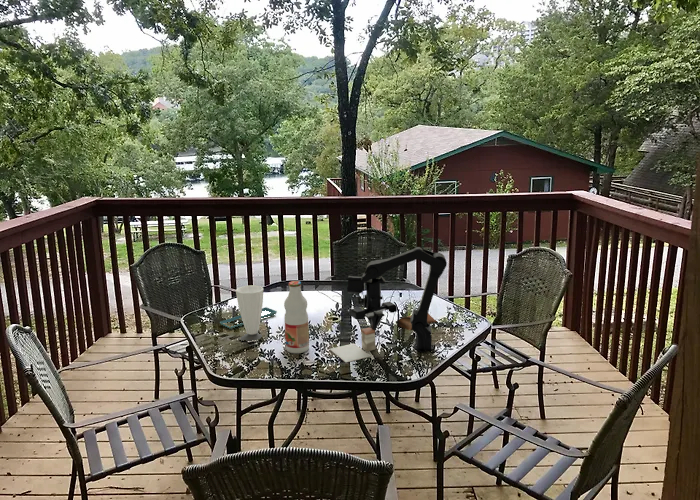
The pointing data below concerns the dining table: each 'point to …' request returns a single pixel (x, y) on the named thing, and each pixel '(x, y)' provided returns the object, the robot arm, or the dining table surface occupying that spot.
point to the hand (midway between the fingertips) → (373, 330)
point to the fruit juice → (296, 320)
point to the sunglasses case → (407, 324)
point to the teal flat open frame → (241, 317)
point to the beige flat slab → (350, 352)
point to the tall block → (368, 339)
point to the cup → (250, 310)
